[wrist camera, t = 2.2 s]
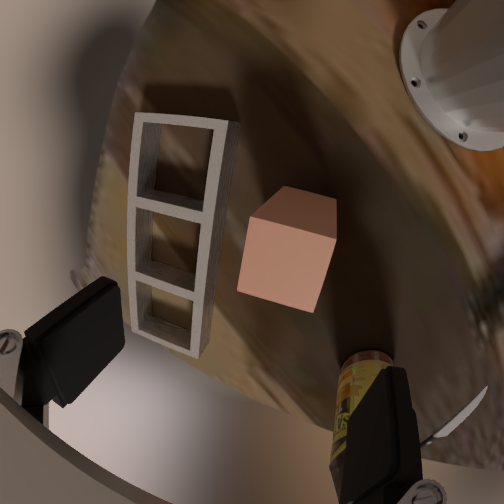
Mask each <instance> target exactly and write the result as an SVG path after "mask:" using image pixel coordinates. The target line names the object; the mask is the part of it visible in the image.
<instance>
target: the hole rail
mask: <svg viewBox="0 0 504 504" xmlns="http://www.w3.org/2000/svg"><path fill="white" fill-rule="evenodd" d="M162 123H163V124H174V125H184V126H193V127H201V128H209V129H214V134H213V140H212V146H211V153H210V160H209V167H208V174H207V181H206V189H205V196H204V201H203V200H199V199H194V198H190V197H185V196H181V195H176V194H172V193H167V192H163V191H158V190H155V182H156V170H157V160H158V151H159V142H160V134H161V126H162ZM240 126H241V122H235V121H228V120H220V119H212V118H204V117H194V116H184V115H172V114H158V113H137V112H135V118H134V126H133V135H132V145H131V156H130V168H129V184H128V209H127V262H128V287H129V303H130V316H131V327H132V331H133V332H135V333H137V334H139V335H141V336H144V337H146V338H148V339H150V340H153V341H155V342H157V343H159V344H162V345H164V346H167V347H169V348H171V349H174V350H176V351H179V352H181V353H184V354H186V355H189V356H191V357H194V358H196V359H199V358H200V356H201V354H202V353H203V351H204V350H205V348H206V347H207V345H208V343H209V338H210V330H211V321H212V313H213V305H214V297H215V289H216V282H217V274H218V267H219V260H220V252H221V245H222V238H223V231H224V225H225V218H226V211H227V205H228V198H229V192H230V185H231V179H232V173H233V167H234V161H235V155H236V149H237V143H238V137H239V131H240ZM153 211H154V212H158V213H162V214H165V215H169V216H173V217H177V218H181V219H185V220H189V221H192V222H196V223H200V224H201V229H200V238H199V248H198V257H197V268H196V274H194V273H191V272H188V271H185V270H182V269H179V268H176V267H173V266H170V265H167V264H164V263H161V262H158V261H155V260H152V229H153ZM151 286H153V287H156V288H159V289H161V290H164V291H167V292H170V293H172V294H175V295H178V296H181V297H183V298H186V299H189V300H192V301H194V302H193V315H192V330H191V331H190V330H187V329H185V328H182V327H179V326H177V325H174V324H172V323H169V322H167V321H164V320H162V319H159V318H157V317H154V316H152V298H151Z"/></svg>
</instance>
